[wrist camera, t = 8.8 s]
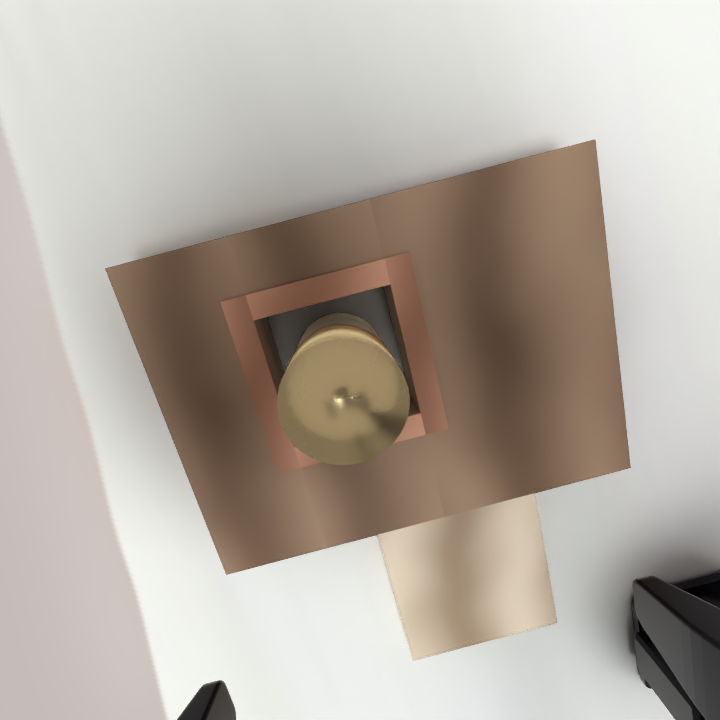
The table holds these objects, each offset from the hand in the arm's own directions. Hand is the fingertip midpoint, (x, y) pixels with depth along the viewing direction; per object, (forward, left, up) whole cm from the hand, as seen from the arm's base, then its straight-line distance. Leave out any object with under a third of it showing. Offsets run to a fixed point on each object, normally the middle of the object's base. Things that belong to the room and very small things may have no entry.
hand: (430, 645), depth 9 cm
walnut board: (-1, +1, -12) cm, 12 cm away
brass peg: (+1, -4, -12) cm, 12 cm away
